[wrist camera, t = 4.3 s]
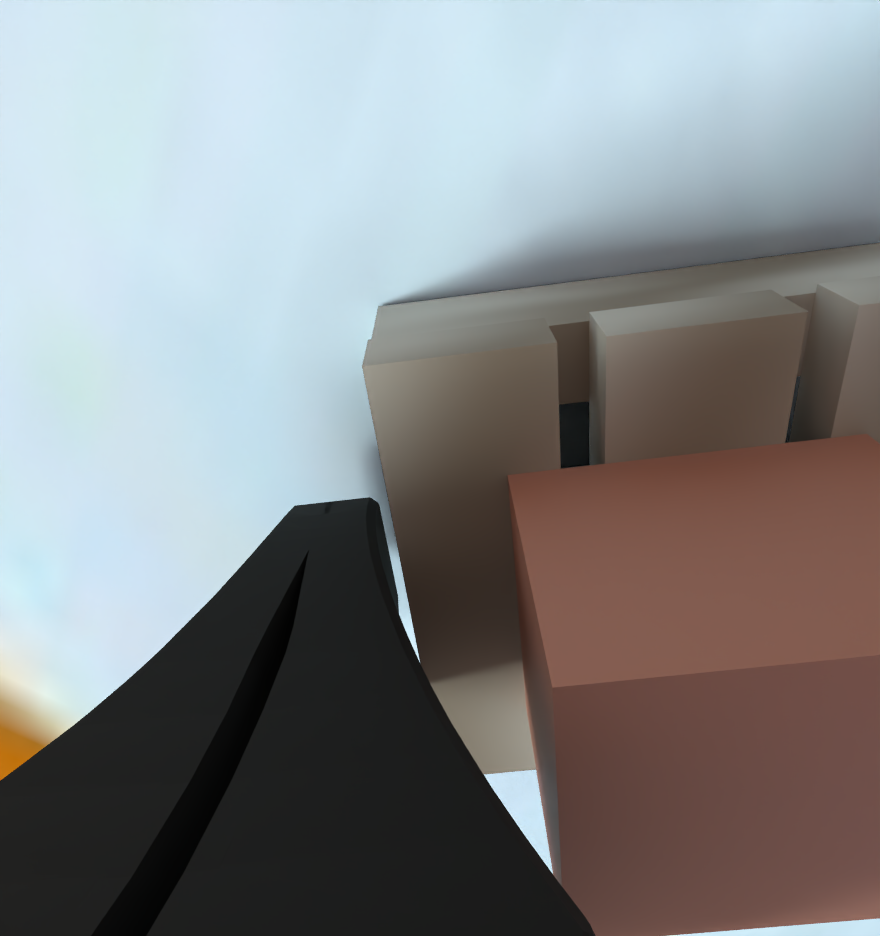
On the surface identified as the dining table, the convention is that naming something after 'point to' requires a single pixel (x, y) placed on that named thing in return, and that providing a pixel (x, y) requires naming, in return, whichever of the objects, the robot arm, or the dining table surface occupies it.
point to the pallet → (590, 424)
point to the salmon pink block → (706, 683)
